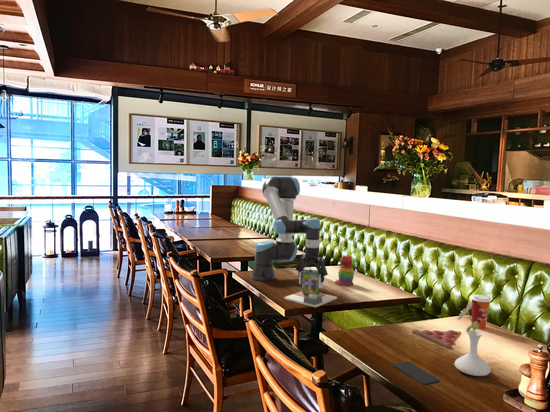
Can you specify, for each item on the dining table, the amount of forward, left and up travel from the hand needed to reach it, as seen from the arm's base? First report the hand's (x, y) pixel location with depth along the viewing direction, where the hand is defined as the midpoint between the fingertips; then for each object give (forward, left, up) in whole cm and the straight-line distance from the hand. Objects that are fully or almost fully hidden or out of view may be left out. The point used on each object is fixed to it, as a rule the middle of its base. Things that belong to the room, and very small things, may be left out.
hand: (310, 285), depth 229 cm
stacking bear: (+1, +37, -6) cm, 38 cm away
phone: (+77, -50, -6) cm, 92 cm away
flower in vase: (+91, -36, -6) cm, 98 cm away
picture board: (+3, -4, -6) cm, 8 cm away
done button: (+9, -11, -4) cm, 15 cm away
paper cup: (+82, +15, -6) cm, 84 cm away
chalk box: (0, 0, -4) cm, 4 cm away
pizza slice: (+74, -8, -7) cm, 75 cm away
